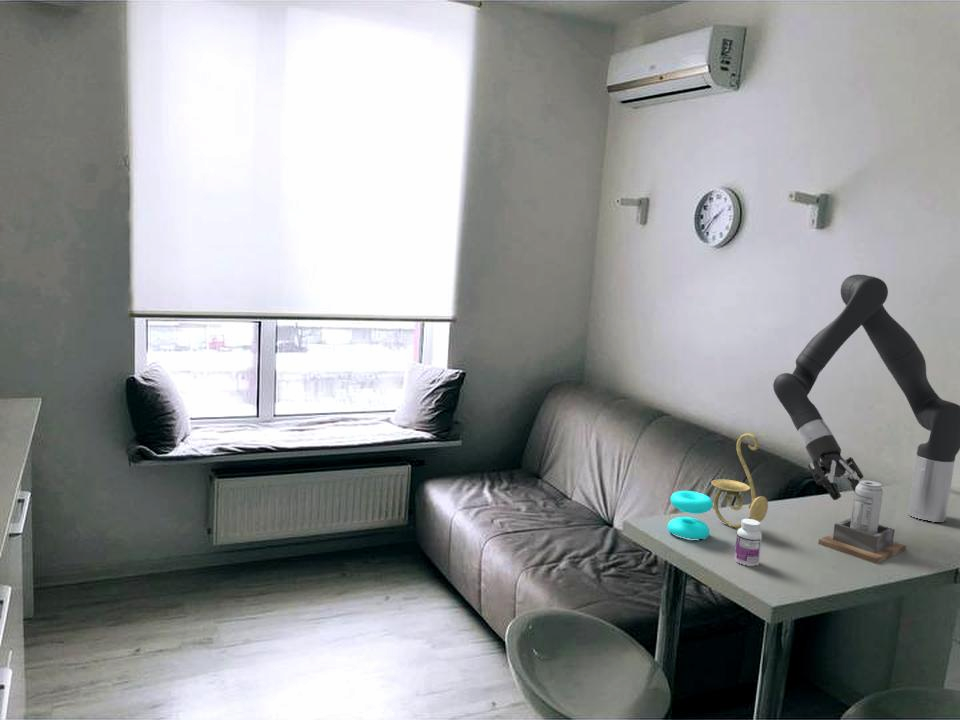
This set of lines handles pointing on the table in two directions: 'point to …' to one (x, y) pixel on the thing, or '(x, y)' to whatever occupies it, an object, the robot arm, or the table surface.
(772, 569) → the table surface
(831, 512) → the table surface
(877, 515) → the energy drink can
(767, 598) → the table surface
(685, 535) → the donuts
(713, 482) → the wall sconce
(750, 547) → the pill bottle
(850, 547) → the socket board
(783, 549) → the table surface
